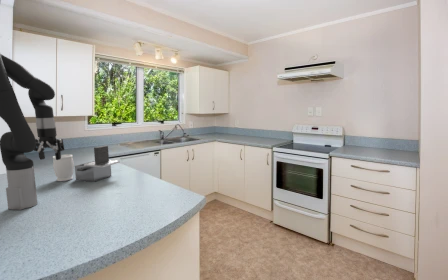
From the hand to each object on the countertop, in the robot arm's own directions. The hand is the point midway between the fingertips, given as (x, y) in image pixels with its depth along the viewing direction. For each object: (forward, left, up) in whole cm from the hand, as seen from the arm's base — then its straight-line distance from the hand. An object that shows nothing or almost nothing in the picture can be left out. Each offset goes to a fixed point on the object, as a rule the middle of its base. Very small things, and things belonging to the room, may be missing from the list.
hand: (50, 159), depth 118 cm
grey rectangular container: (+30, -1, -18) cm, 35 cm away
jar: (+25, +15, -18) cm, 34 cm away
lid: (+29, -8, -9) cm, 31 cm away
